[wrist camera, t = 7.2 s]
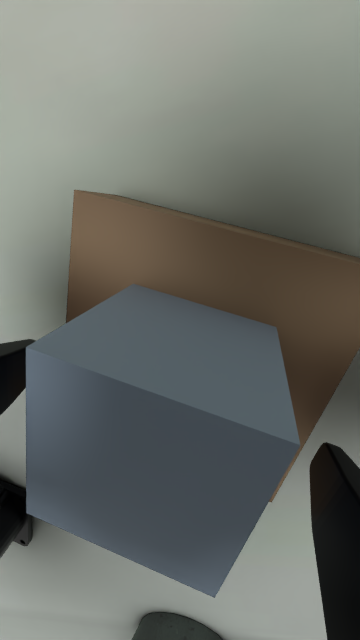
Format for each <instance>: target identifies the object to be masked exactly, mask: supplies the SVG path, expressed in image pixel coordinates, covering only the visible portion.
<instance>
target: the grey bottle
mask: <svg viewBox="0 0 360 640" xmlns="http://www.w3.org/2000/svg"><path fill="white" fill-rule="evenodd" d="M132 640H222V639H221V638H220V637H219V636H218V635H217V634H216V633H214V632H213V631H211V630H210V629H208V628H207V627H206V626H204V625H202V624H200V623H198V622H196V621H194V620H192V619H189V618H186V617H183V616H180V615H176V614H172V613H163V612H158V613H151V614H149V615H147V616H145V617H144V618H143V619H142V621H141V623H140V625H139V627H138V629H137V631H136V633H135V634H134V636H133V638H132Z"/></svg>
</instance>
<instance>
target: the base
mask: <svg viewBox="0 0 360 640" xmlns="http://www.w3.org/2000/svg"><path fill="white" fill-rule="evenodd" d="M132 284H136V285H139V286H142V287H146V288H149V289H152V290H156V291H159V292H162V293H166V294H169V295H172V296H175V297H179V298H182V299H185V300H189V301H192V302H195V303H199V304H202V305H205V306H208V307H212V308H215V309H218V310H222V311H225V312H228V313H232V314H235V315H238V316H241V317H245V318H248V319H251V320H255V321H258V322H261V323H265V324H268V325H271V326H274V327H277V332H278V337H279V342H280V347H281V352H282V357H283V362H284V367H285V372H286V377H287V381H288V386H289V391H290V396H291V401H292V406H293V411H294V416H295V421H296V426H297V431H298V436H299V441H300V447H299V449H298V450H297V452H296V454H295V456H294V458H293V459H292V461H291V463H290V465H289V466H288V468H287V470H286V472H285V474H284V475H283V477H282V479H281V481H280V482H279V484H278V486H277V488H276V490H275V491H274V493H273V495H272V497H271V498H270V500H269V502H272V501H273V499H274V497H275V495H276V494H277V492H278V490H279V488H280V487H281V485H282V483H283V481H284V479H285V478H286V476H287V474H288V472H289V471H290V469H291V467H292V465H293V464H294V462H295V460H296V458H297V457H298V455H299V453H300V451H301V450H302V448H303V446H304V444H305V443H306V441H307V439H308V437H309V436H310V434H311V432H312V430H313V429H314V427H315V425H316V423H317V422H318V420H319V418H320V416H321V415H322V413H323V411H324V409H325V408H326V406H327V404H328V402H329V401H330V399H331V397H332V395H333V394H334V392H335V390H336V388H337V387H338V385H339V383H340V381H341V379H342V378H343V376H344V374H345V372H346V371H347V369H348V367H349V365H350V364H351V362H352V360H353V358H354V357H355V355H356V353H357V351H358V350H359V348H360V258H358V257H354V256H350V255H346V254H342V253H338V252H335V251H331V250H327V249H323V248H319V247H315V246H311V245H307V244H304V243H300V242H296V241H292V240H288V239H284V238H280V237H276V236H273V235H269V234H265V233H261V232H257V231H253V230H249V229H245V228H242V227H238V226H234V225H230V224H226V223H222V222H218V221H214V220H211V219H207V218H203V217H199V216H195V215H191V214H187V213H183V212H180V211H176V210H172V209H168V208H164V207H160V206H156V205H152V204H149V203H145V202H141V201H137V200H133V199H129V198H125V197H121V196H118V195H111V194H104V193H96V192H88V191H80V190H74V202H73V218H72V234H71V250H70V266H69V282H68V298H67V314H66V323H68V322H69V321H71V320H73V319H74V318H76V317H78V316H79V315H81V314H83V313H85V312H86V311H88V310H90V309H91V308H93V307H95V306H96V305H98V304H100V303H101V302H103V301H105V300H107V299H108V298H110V297H112V296H113V295H115V294H117V293H118V292H120V291H122V290H123V289H125V288H127V287H129V286H130V285H132Z"/></svg>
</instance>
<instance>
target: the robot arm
mask: <svg viewBox="0 0 360 640" xmlns="http://www.w3.org/2000/svg"><path fill="white" fill-rule="evenodd" d="M34 342H36V341H35V340H32V339H27V340H21V341H14V342H8V343H2V344H0V415H1V414H2V413H3V412H4V411H5V410H6V409H7V408H8V407H9V406H10V405H11V404H12V403H13V402H14V400H15V399H16V398H17V397H18V396H19V395H20V394H21V392H22V391H23V390H24V389H25V388H26V347H27V346H29V345H30V344H32V343H34ZM310 495H311V520H312V532H313V540H314V547H315V554H316V561H317V568H318V575H319V583H320V590H321V597H322V604H323V611H324V618H325V625H326V633H327V640H360V469H359V467H358V466H357V465H356V464H355V463H354V462H353V461H352V460H351V459H350V458H349V456H348V455H347V454H346V453H345V452H344V451H343V450H342V449H341V448H340V447H338V446H336V445H333V444H330V443H327V442H326V443H323V444H322V445H321V446H320V448H319V450H318V451H317V453H316V455H315V456H314V458H313V460H312V461H311V464H310ZM31 538H32V515H30V514H27V513H26V491H24V490H22V489H20V488H18V487H15V486H13V485H11V484H8V483H6V482H4V481H2V480H0V558H1V557H2V555H3V554H4V553H5V551H6V550H7V549H8V547H9V546H10V544H11V543H12V542H13V541H14V542H17V543H19V544H21V545H23V546H28V544H29V543H30V541H31Z"/></svg>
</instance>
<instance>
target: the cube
mask: <svg viewBox="0 0 360 640" xmlns="http://www.w3.org/2000/svg"><path fill="white" fill-rule="evenodd" d="M299 447H300V441H299V436H298V431H297V426H296V421H295V416H294V411H293V406H292V401H291V396H290V391H289V386H288V381H287V377H286V372H285V367H284V362H283V357H282V352H281V347H280V342H279V337H278V332H277V327H274V326H271V325H268V324H265V323H261V322H258V321H255V320H251V319H248V318H245V317H241V316H238V315H235V314H232V313H228V312H225V311H222V310H218V309H215V308H212V307H208V306H205V305H202V304H199V303H195V302H192V301H189V300H185V299H182V298H179V297H175V296H172V295H169V294H166V293H162V292H159V291H156V290H152V289H149V288H146V287H142V286H139V285H136V284H132V285H130V286H129V287H127V288H125V289H123V290H122V291H120V292H118V293H117V294H115V295H113V296H112V297H110V298H108V299H107V300H105V301H103V302H101V303H100V304H98V305H96V306H95V307H93V308H91V309H90V310H88V311H86V312H85V313H83V314H81V315H79V316H78V317H76V318H74V319H73V320H71V321H69V322H68V323H66V324H64V325H63V326H61V327H59V328H58V329H56V330H54V331H52V332H51V333H49V334H47V335H46V336H44V337H42V338H41V339H39V340H37V341H36V342H34V343H32V344H30V345H29V346H27V347H26V513H27V514H30V515H32V516H34V517H36V518H38V519H41V520H43V521H45V522H47V523H50V524H52V525H54V526H56V527H58V528H61V529H63V530H65V531H67V532H70V533H72V534H74V535H76V536H78V537H81V538H83V539H85V540H87V541H90V542H92V543H94V544H96V545H98V546H101V547H103V548H105V549H107V550H110V551H112V552H114V553H116V554H118V555H121V556H123V557H125V558H127V559H130V560H132V561H134V562H136V563H138V564H141V565H143V566H145V567H147V568H150V569H152V570H154V571H156V572H158V573H161V574H163V575H165V576H167V577H170V578H172V579H174V580H176V581H178V582H181V583H183V584H185V585H187V586H190V587H192V588H194V589H196V590H198V591H201V592H203V593H205V594H207V595H210V596H212V597H214V598H215V596H216V594H217V593H218V591H219V589H220V587H221V585H222V584H223V582H224V580H225V578H226V577H227V575H228V573H229V571H230V569H231V568H232V566H233V564H234V562H235V561H236V559H237V557H238V555H239V553H240V552H241V550H242V548H243V546H244V545H245V543H246V541H247V539H248V537H249V536H250V534H251V532H252V530H253V529H254V527H255V525H256V523H257V522H258V520H259V518H260V516H261V514H262V513H263V511H264V509H265V507H266V506H267V504H268V502H269V500H270V498H271V497H272V495H273V493H274V491H275V490H276V488H277V486H278V484H279V482H280V481H281V479H282V477H283V475H284V474H285V472H286V470H287V468H288V466H289V465H290V463H291V461H292V459H293V458H294V456H295V454H296V452H297V450H298V449H299Z"/></svg>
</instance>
